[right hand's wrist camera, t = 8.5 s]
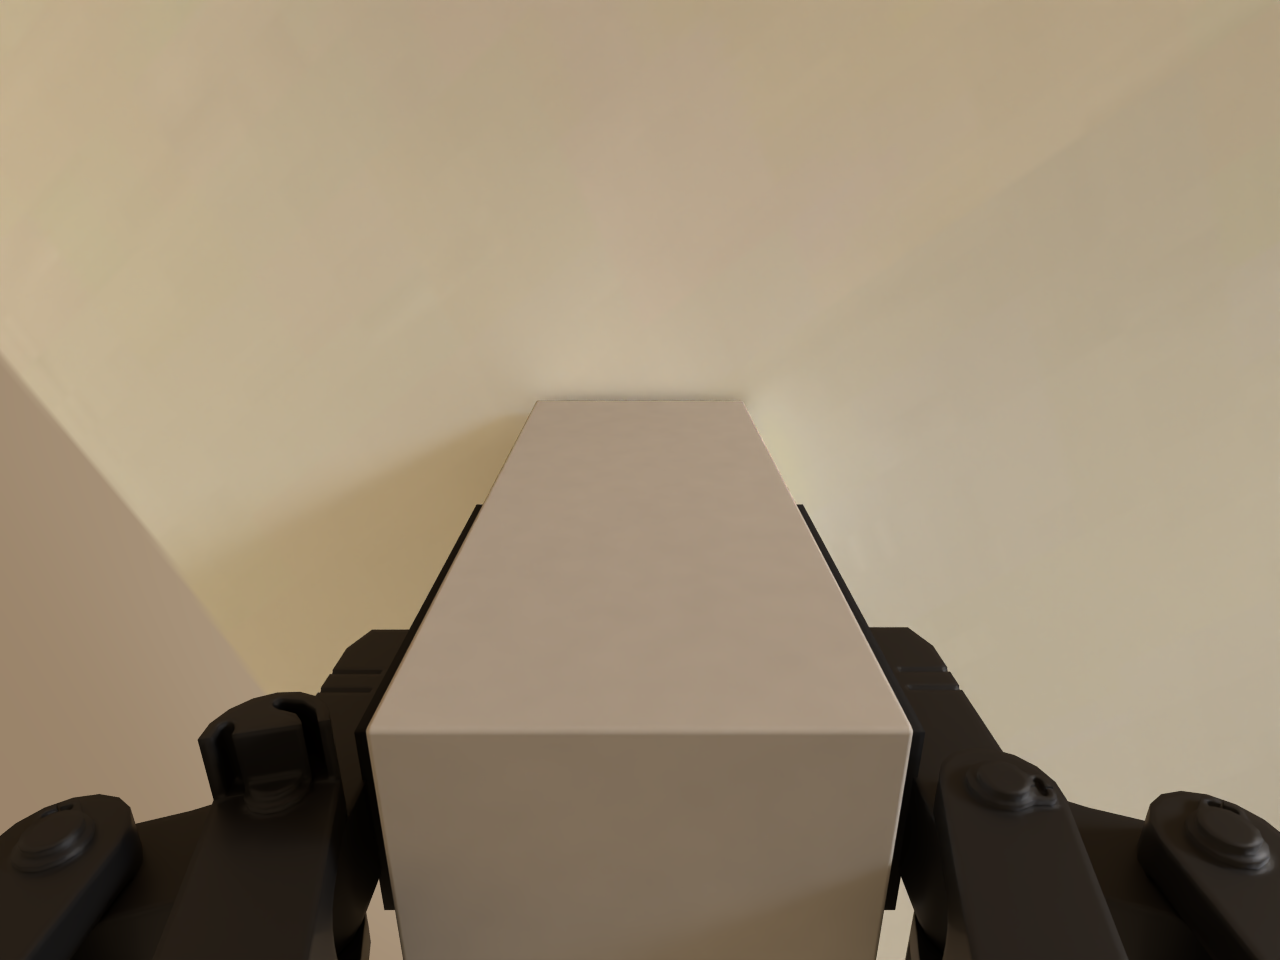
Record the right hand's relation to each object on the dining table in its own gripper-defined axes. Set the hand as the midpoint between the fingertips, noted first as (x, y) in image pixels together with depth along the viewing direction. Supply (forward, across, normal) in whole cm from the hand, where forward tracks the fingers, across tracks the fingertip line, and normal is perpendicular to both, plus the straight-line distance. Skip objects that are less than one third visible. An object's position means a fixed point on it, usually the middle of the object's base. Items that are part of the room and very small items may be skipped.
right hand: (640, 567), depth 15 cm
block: (+4, 0, 0) cm, 4 cm away
